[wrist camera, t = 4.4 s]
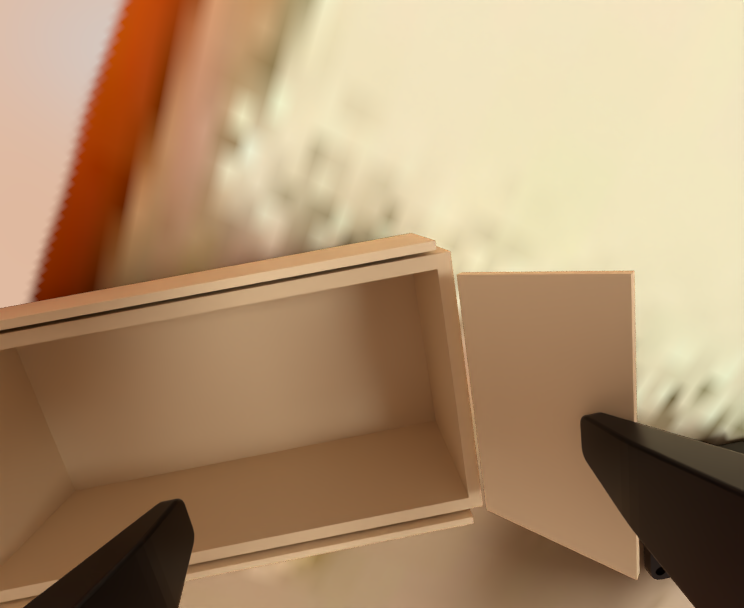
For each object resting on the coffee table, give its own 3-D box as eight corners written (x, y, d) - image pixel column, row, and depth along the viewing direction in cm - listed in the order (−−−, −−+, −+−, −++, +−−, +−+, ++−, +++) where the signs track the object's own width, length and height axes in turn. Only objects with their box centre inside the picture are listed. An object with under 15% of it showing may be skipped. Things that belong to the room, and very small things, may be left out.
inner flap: (486, 509, 11) (490, 504, 12) (637, 580, 9) (639, 572, 9) (456, 274, 10) (462, 272, 10) (630, 273, 7) (634, 270, 7)
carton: (445, 431, 17) (486, 523, 12) (79, 503, 17) (-36, 628, 12) (415, 229, 15) (450, 237, 10) (-3, 305, 15) (-185, 354, 10)
